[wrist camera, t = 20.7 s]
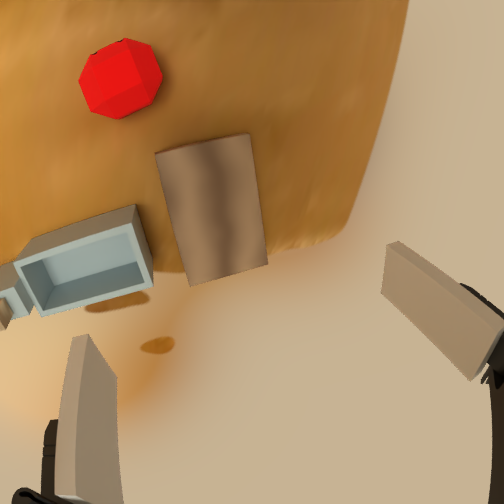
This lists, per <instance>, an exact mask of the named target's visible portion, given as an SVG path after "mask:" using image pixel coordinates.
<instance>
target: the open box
mask: <svg viewBox="0 0 504 504" xmlns="http://www.w3.org/2000/svg"><path fill="white" fill-rule="evenodd" d="M13 264H14V267H15V269H16V271H17V273H18V275H19V277H20V279H21V281H22V283H23V285H24V287H25V289H26V291H27V293H28V294H29V296H30V298H31V300H32V302H33V304H34V305H35V307H36V309H37V311H38V312H39V314H40V316H41V317H44V316H48V315H52V314H55V313H59V312H63V311H67V310H70V309H74V308H78V307H81V306H85V305H89V304H92V303H96V302H100V301H103V300H107V299H110V298H114V297H118V296H121V295H125V294H129V293H132V292H136V291H139V290H143V289H147V288H150V287H153V286H154V285H153V258H152V255H151V252H150V249H149V246H148V243H147V240H146V236H145V233H144V230H143V227H142V224H141V220H140V217H139V214H138V210H137V207H136V204H133V205H130V206H127V207H123V208H120V209H117V210H114V211H111V212H107V213H104V214H101V215H98V216H95V217H92V218H89V219H86V220H83V221H80V222H77V223H74V224H71V225H68V226H66V227H63V228H60V229H57V230H54V231H52V232H49V233H46V234H44V235H41V236H38V237H36V238H33V239H31V241H30V242H29V243H28V244H27V245H26V247H25V248H24V249H23V250H22V252H21V253H20V254H19V255H18V257H17V258H16V259H15V261H14V262H13Z"/></svg>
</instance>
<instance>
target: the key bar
mask: <svg viewBox="0 0 504 504" xmlns="http://www.w3.org/2000/svg"><path fill="white" fill-rule="evenodd" d="M12 316H13V312H12V311H11V309H10V307H9V305H8V304H7V302H6V300H5V298H1V299H0V331H2V330H6V328H7V326H8V324H9V322H10V320H11V318H12Z"/></svg>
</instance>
